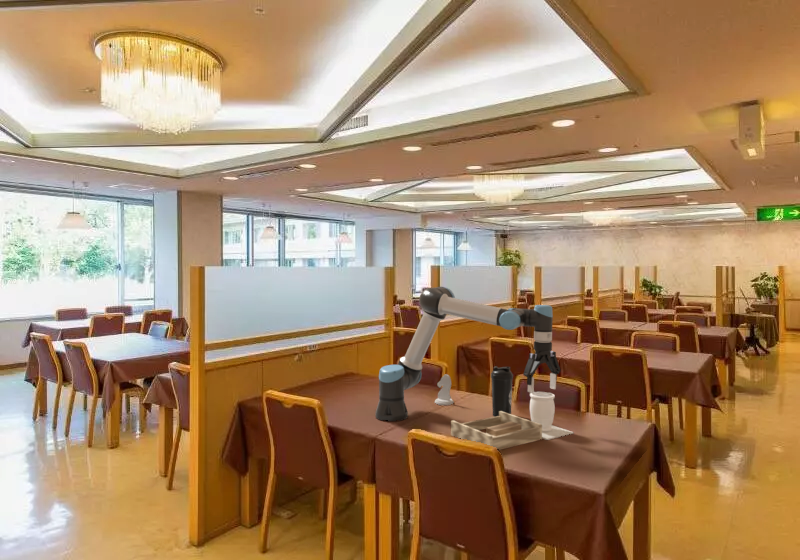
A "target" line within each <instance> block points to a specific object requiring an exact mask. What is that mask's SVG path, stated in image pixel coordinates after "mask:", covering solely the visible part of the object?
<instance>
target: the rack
mask: <svg viewBox="0 0 800 560" xmlns="http://www.w3.org/2000/svg"><path fill="white" fill-rule="evenodd" d="M508 422H515V423H518V424H522V428H521V429H522V430H521V431H517V432H513V433H508V434H504V435H500V436H495V437H492V436H491V435H489V434H486V432H484V431H481V430H486V428H487V427H491V426H496V425H500V424H504V423H508ZM450 436H452V437H454V436H455V438H457V437H458V438H457V439H459V438H461V439H467V440H471V441H476V442H481V443H484V444H487V445H490V446H493V447H496V448H497V449H499V450H498V451H500V450H503V449H508V448H512V447H517V446H520V445H524V444H528V443H533V442H536V441H540V439H541V440H542V439H543V438H542V424H539V423H536V422H533V421H531V419H530V420H529V419H526V418H523V417H520V416H518V415H515V414H512V413H511V414H509V413H506V412H503V411H499V416H495V417H494V416H490V417H486V418H481V419H477V420H472V421H471V420H470V421H468V422H458V421H456V420H454V419H453V420H450ZM461 439H460V440H461Z"/></svg>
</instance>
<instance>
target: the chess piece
mask: <svg viewBox="0 0 800 560" xmlns="http://www.w3.org/2000/svg"><path fill="white" fill-rule="evenodd" d="M437 387H438V388H440V390H439V391H438V393H437V398H436V399H435V400H434V404H435V403H436V404H435V405H437V404H438V405H439V406H451V404H452V405H454V404H453V403H454V400H453V399H452V395H451V394H450V393H451V387H452V379H451V376H450V375H449V374H447V373H446V374H443V376H442V377H441V378H440V380H439V381H438V382H437Z"/></svg>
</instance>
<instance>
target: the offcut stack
mask: <svg viewBox="0 0 800 560" xmlns="http://www.w3.org/2000/svg"><path fill="white" fill-rule="evenodd" d="M521 428H522V424H518V423H515V422H508V423H504V424H500V425H496V426H491V427H487V428H486V429H485V433H486V434H489V435H491V436H492V437H495V436H500V435H504V434H508V433H513V432H517V431H521V430H522V429H521Z"/></svg>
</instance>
